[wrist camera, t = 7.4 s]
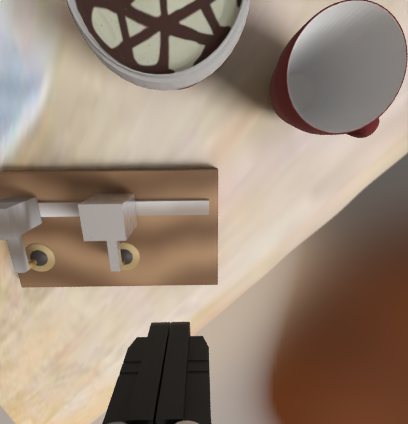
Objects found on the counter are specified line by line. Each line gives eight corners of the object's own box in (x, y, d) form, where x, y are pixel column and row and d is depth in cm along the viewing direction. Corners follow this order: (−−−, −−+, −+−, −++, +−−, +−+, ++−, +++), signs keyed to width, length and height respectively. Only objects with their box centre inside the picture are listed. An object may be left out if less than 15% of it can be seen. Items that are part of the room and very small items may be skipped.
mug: (368, 89, 26) (462, 65, 17) (321, 159, 28) (381, 172, 19) (284, 31, 25) (335, -32, 15) (240, 109, 27) (261, 96, 17)
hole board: (2, 171, 29) (-53, 181, 22) (217, 168, 29) (221, 178, 22) (29, 280, 33) (-11, 315, 27) (216, 277, 33) (220, 311, 27)
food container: (124, 109, 27) (81, 97, 17) (110, 42, 25) (53, -13, 15) (241, 93, 26) (263, 71, 17) (236, 24, 25) (257, -44, 15)
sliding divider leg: (96, 193, 27) (77, 204, 23) (133, 193, 27) (122, 203, 23) (105, 262, 30) (90, 283, 26) (140, 262, 30) (130, 282, 26)
